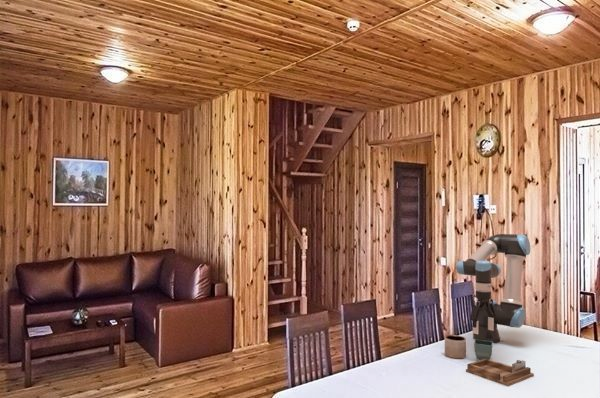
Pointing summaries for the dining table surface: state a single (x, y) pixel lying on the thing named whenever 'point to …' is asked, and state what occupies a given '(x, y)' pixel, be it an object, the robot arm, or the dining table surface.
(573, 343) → the dining table surface
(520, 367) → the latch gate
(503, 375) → the frame
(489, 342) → the flower pot
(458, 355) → the planter
